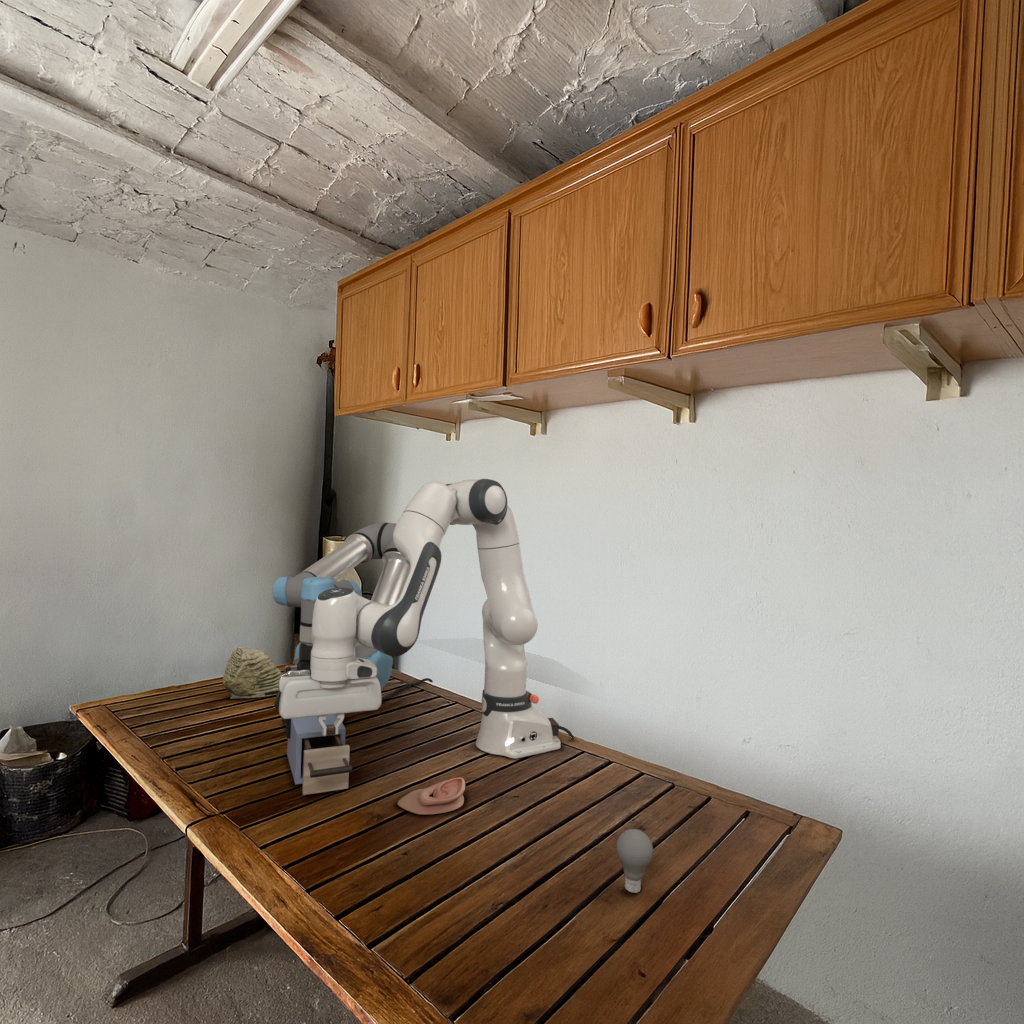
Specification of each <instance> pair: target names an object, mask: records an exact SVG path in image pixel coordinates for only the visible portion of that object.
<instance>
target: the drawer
mask: <svg viewBox="0 0 1024 1024" xmlns="http://www.w3.org/2000/svg"><path fill="white" fill-rule="evenodd" d="M350 750H351V747H350V744H345V745H343V744H342V742H341V740H340V738H339V736H338V735H329V736H320V737H311V738H303V739H302V754H301V772H302V775H303V784H302V789H301V791H302V792H301V793H302V796H307V795H313V794H320V793H327V792H333V791H340V790H345V789H349V781H350V780H349V778H350V773H352V771H353V767H352V765H351V764H350V754H351V753H350V752H351V751H350Z"/></svg>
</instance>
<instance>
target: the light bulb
mask: <svg viewBox="0 0 1024 1024" xmlns="http://www.w3.org/2000/svg"><path fill="white" fill-rule="evenodd" d="M615 849H616V854H617V857H618V859H619V861H620V863H621V865H622V867H623V873H624V874H623V875H624V876H625V878H624V888H625V890H627V891H628V892H630V893H634V894H635V893H639V892H640V891H641V889H642V887H641V886H642V879H643V877H644V875H645V871H646V868H647V867H648V866H649V864H650V863H651V861H652V859H653V855H654V847H653V843H652V841H651V838H649V836H648V835H647V834H646V833H645V832H643V831H642V830H641V829H636V828H629V829H627V830H625V831H623V832H622V833H621V834H620V835H619V837H618V839H617V841H616V847H615Z"/></svg>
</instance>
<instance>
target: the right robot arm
mask: <svg viewBox="0 0 1024 1024" xmlns="http://www.w3.org/2000/svg"><path fill="white" fill-rule="evenodd" d="M396 523H397V524H396V526H395V529H394V532H393V540H394V544H395V546H396V548H397V550H398V551H399V552H400V553H401V554H402V555H403V556H404V557H405V558H406V559H407V560H408V561H410V565H411V567H410V572H409V575H408V577H407V580H406V582H405V585H404V588H403V590H402V593H401V595H400V598H399V600H398V601H397V602H396V603H394V604H393V605H387V604H382V603H379V602H374V601H371V599H368V598H366V597H363V596H362V597H361V596H359V595H358V594H356V593H355V592H354V590H352V589H350V588H344V587H340V588H332V589H328V590H325V591H323V592H322V593H320V594H319V595H318V597H317V599H316V601H315V605H314V610H313V619H312V636H313V647H312V650H311V663H310V669H307V670H299V671H287V673H285V672H284V673H282V676H281V677H280V679H279V687H278V688H279V691H280V692H281V696H280V702H279V709H278V713H279V716H280V717H281V719H282V718H283V719H291V718H301V717H311V716H317V718H318V720H319V722H320V724H321V725H322V734H323V736H329V735H338V727H339V726H340V724H341V722H342V721H343V722H344V720H345V714H349V713H350V714H352V713H358V712H359V713H360V712H369V711H378V710H379V708H380V707H381V706H382V701H381V698H382V689H381V686H380V682H379V680H378V679H377V678H376V675H377V667H376V666H375V665H374V663H372V662H371V661H370V660H367V659H363V658H359V657H355V648H356V646H358V645H363V646H365V647H369V648H372V649H375V650H378V651H380V652H382V653H384V654H387V655H389V656H392V658H393V657H401V656H403V655H405V654H407V652H409V651H410V650H411V649H412V648H413V647H414V646H415V644H416V643H417V640H418V639H419V635H420V631H421V626H422V625H421V624H422V620H423V616H424V613H425V610H426V608H427V604H428V601H429V600H430V596H431V594H432V590H433V588H434V585H435V582H436V580H437V577H438V574H439V571H440V567H441V565H442V550H441V549H440V548H441V544H442V541H443V539H444V537H445V535H446V533H447V531H448V529H449V527H450V526H454V525H460V526H473V528H474V530H475V535H476V537H475V538H476V548H477V554H478V555H477V556H478V562H479V570H480V576H481V577H480V578H481V580H482V584H483V587H484V590H485V593H486V598H487V599H486V600H485V601H484V603H483V605H482V608H481V617H482V635H483V636H482V637H483V650H484V663H485V664H484V682H483V683H484V687H483V690H482V693H481V696H482V697H481V704H480V705H481V713H482V714H481V720H480V725H479V730H478V734H477V737H476V739H475V746H476V748H477V749H479V750H480V751H482V752H485V753H488V754H492V755H496V756H497V755H498V756H504V757H507V758H510V759H514V760H515V759H521V758H525V757H531V756H534V755H535V756H536V755H538V754H544V753H547V752H552V751H556V750H560V749H561V748H562V743H561V740H560V739H559V737H558V736H559V733H560V732H559V730H560V731H561V730H562V731H564V732H565V733H566V734H567V735H568V736H569V737H570V736H571V737H572V738H571V737H570V739H571V740H574V739H575V736H574V735H573V734H572V731H570V729H568V728H566V727H564V726H562V725H560V724H559V723H558V722H557V721H556V720H555V719H554V717H547V716H546V715H545V714H543V713H542V711H540V710H539V709H538V708H537V707H535V706H534V705H533V704H535V705H537V704H539V702H540V698H539V696H537V695H536V694H532V693H531V692H530V691H528V690H527V681H528V679H527V678H528V677H527V676H528V660H527V655H526V649H525V644H527V643H529V642H530V641H532V640H533V638H534V637H535V636H536V635H537V631H538V626H539V624H538V623H539V622H538V619H537V616H536V614H535V611H534V607H533V603H532V598H531V594H530V590H529V586H528V584H527V581H526V576H525V573H524V566H523V559H522V551H521V545H520V543H521V542H520V535H519V531H518V527H517V523H516V520H515V517H514V514H513V511H512V509H511V508H510V506H508V496H507V493H506V491H505V488H504V487H503V485H501V483H500V482H499V481H496V480H494V479H490V478H480V479H465V480H461V481H457V482H454V483H446V484H445V483H442V482H439V481H429V482H425V484H423V485H422V486H421V487H420V489H419V490H418V491H417V492H416V493H415V494H414V495H413V497H412V498H411V500H410V501H409V502H408V504H407V505H406V506H405V508H404V510H403V512H402V513H401V515H400V517H399V519H398V520H397V522H396ZM285 675H287V676H285ZM331 714H336V717H337V719H336V721H335V722H334V724H331V725H326V724H325V723H324V721H323V720H326V715H331ZM343 722H342V723H343Z"/></svg>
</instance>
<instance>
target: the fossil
mask: <svg viewBox="0 0 1024 1024" xmlns="http://www.w3.org/2000/svg"><path fill="white" fill-rule="evenodd" d="M282 675H283V673H282V672H281V669H279V668H278V667H277V665H276V663H275V662H274V660H273V659H272V658H271V657H270V656H269V655H268V654H267V653H266V652H265V650H264V649H263V648H260V647H258V648H251V647H247V646H246V647H245V646H238V647H237V648H236V649H235V650H233V651H232V653H231V656H230V657H229V659H228V660H227V663H226V666H225V668H224V671H223V675H222V676H223V677H222V685H223V687H224V688H225V690H226V691H228V693H229V698H230V699H250V698H264V697H271V696H275V695H276V696H277V693H278V691H279V688H278V687H279V679H280V677H281V676H282Z"/></svg>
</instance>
